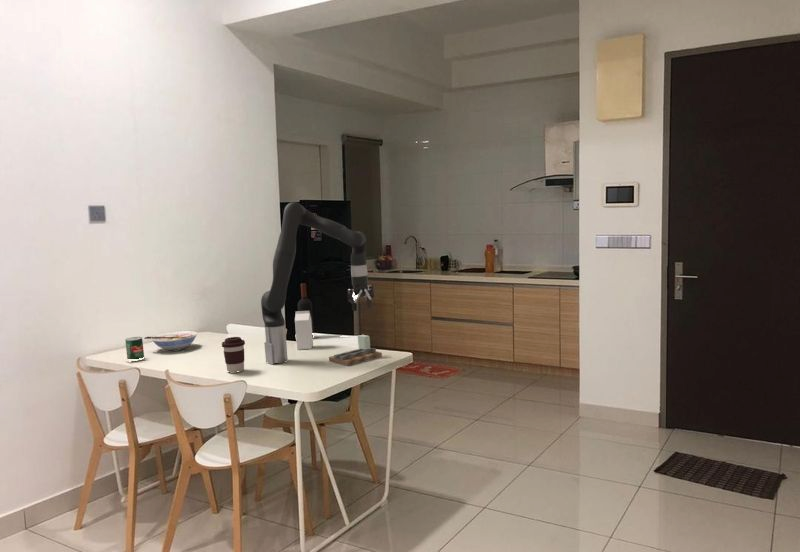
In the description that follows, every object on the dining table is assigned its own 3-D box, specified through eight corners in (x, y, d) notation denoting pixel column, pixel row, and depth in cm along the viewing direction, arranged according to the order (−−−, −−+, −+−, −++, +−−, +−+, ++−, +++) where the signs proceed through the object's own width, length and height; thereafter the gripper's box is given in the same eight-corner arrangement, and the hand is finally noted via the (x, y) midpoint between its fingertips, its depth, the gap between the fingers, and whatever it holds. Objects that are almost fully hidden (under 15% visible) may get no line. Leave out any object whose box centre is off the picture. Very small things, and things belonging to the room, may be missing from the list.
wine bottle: (301, 340, 340) (296, 285, 336) (299, 337, 347) (295, 283, 344) (315, 338, 342) (311, 283, 338) (313, 336, 349) (309, 282, 346)
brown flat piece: (347, 366, 280) (347, 358, 280) (329, 361, 291) (328, 353, 290) (381, 356, 294) (381, 349, 293) (362, 352, 304) (362, 345, 304)
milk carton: (311, 349, 317) (308, 312, 315) (297, 350, 318) (294, 312, 315) (313, 346, 325) (310, 309, 322) (299, 346, 325) (296, 310, 323)
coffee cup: (238, 367, 289) (235, 335, 288) (251, 370, 283) (248, 337, 281) (219, 372, 282) (216, 339, 280) (233, 375, 275) (230, 341, 274)
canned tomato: (138, 362, 311) (135, 340, 310) (124, 362, 313) (121, 340, 311) (147, 358, 319) (145, 336, 318) (133, 358, 320) (131, 336, 319)
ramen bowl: (208, 344, 343) (207, 329, 342) (184, 354, 321) (182, 339, 320) (168, 344, 350) (166, 329, 349) (141, 354, 328) (140, 339, 327)
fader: (365, 353, 293) (364, 337, 292) (358, 351, 296) (357, 335, 296) (370, 352, 295) (369, 335, 294) (363, 350, 298) (362, 334, 298)
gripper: (365, 272, 300) (367, 306, 302) (342, 276, 290) (344, 311, 292) (376, 273, 295) (378, 307, 297) (353, 277, 285) (355, 312, 287)
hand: (361, 309), depth 295 cm, fingers open, 8 cm apart
